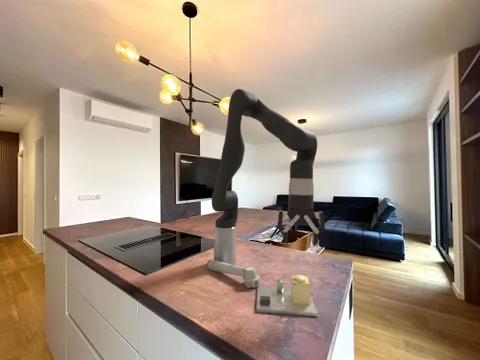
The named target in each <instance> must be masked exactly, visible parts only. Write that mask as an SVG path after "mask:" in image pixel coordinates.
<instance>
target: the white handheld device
mask: <svg viewBox="0 0 480 360" xmlns="http://www.w3.org/2000/svg"><path fill="white" fill-rule="evenodd" d="M206 269H208V270H211V271H212V272H219V273H223V274H229V275H235V276H239V277H242V281H243V283H244V286H245V287H246V288H248V289H250V288H254V289H255V288H258V286H260V283H259V282H260V276H259V275H258V274H257V270H256V269H255V267H252V266H251V267H249V266H248V267H243V266H238V265H237V264H236V265H232V264H228V263H224V262H220V261H218V260H214V259H210V260H208V261H207V264H206Z"/></svg>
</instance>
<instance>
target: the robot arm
mask: <svg viewBox="0 0 480 360" xmlns="http://www.w3.org/2000/svg"><path fill="white" fill-rule="evenodd" d="M228 104H229V105H228V111H227V113H228V114H227V123H226V131H225V137H224V143H223V147H222V152H221V157H220V165H219V169H218V173H217V178H216V182H215V185H214V189H213V191H212V194H211V195H212V196H211V207H212V209H213V211H215V212H216V213H222V212H223V213H222V215H220V216H219V217H218V218H217V219H216V220H215V225H214V227H215V228H214V230H215V231H214V234H215V236H214V237H215V241H214V242H215V243H214V244H213V260H218V261H220V262H224V263H228V264H232V265H236V266H237V263H236V261H237V259H236V258H237V255H236V254H237V246H236V245H237V221H238V216H239V214H238V213H239V197H238V194H237V192H235V191H234V190H228V189H229V188H228V187H229V184H230V183H231V181H232V179H233V178H234V176H235V175H236V174H237V172H238V171H239V170H240V169H241V166H242V164H243V161H244V155H245V149H246V145H245V142H244V138H243V137H244V136H243V135H242V130H241V129H242V125H241V124H242V118H243V117H248V118H252V119H253V120H256V121H258V122H259V123H260V124H261V125H262V126H263V128H264V129H265V130H266V131H267V132H268V133H270V134H271V135H273V136H274V137H275V138H277V139H279V141H280V142H281V143H282V144H283V145H284V147H286V148H287V149H289V150H291V151H292V152H296V157H295V159H294V160H292V161H291V162H290V166H289V182H288V210H287V211H284V210H281V209H280V210H278V215H277V225H276V226H277V230H279V231H281V232H282V240H283V242H284V243H285V245H288V244H289V232H288V231H289V230H290V229H291V228H292V227H293V226H294V225H295V226H302V227H303V226H304V227H305V226H309V227H310V228H311V230H312V234H311V243H312V246H317V245H318V243H319V234H320V233H324V232H326V227H325V226H326V224H325V223H326V221H325V220H326V219H325V213H324V212H323V211H317V212H315V211H314V191H315V189H314V162H315V159H316V155H317V150H318V139H317V136H316V134H315V133H313V132H312V131H311V130H308V129H307V130H306V129H303V128H301V127H300V126H297V125H296V124H294V122H293V121H291V120H290V119H288V118H287V117H285V116H284V115H282V114H280V113H278V112H276V111H274V110H273V109H271V108H269V107H268V106H267V105H266V104H264V102H262V100H260V98H258V97H257V96H256V95H255V94H253V92H252V93H251V92H249V91H246V90H245V89H244V90H243V89H242V88H237V89H235V90H234V91H233V92H232V93H231V97H230V99H229V103H228ZM286 216H287V217H288V218H289V220H288V221H287V222H286V223H285V225H283V219H285V217H286ZM314 218H316V219H317V220H318V227H316V226H315V223H313V221H312V220H314Z"/></svg>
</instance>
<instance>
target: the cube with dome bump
mask: <svg viewBox="0 0 480 360" xmlns="http://www.w3.org/2000/svg"><path fill="white" fill-rule="evenodd" d="M311 285H312V284H311V282H310V280H309V278H308V276H307V275H303V274H296V275H290V288H291V296H292V300H293V303H300V304H310V295H311V294H312V293H311V291H312V290H311V288H312V287H311Z"/></svg>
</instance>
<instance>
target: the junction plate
mask: <svg viewBox="0 0 480 360" xmlns="http://www.w3.org/2000/svg"><path fill="white" fill-rule="evenodd" d="M276 282H277V283H276V286H272V285H270V286H269V285H259V286H258V287H257V293H256V296H257V297H256V313H266V314H276V315H277V314H278V315H279V314H280V315H292V316H306V317H316V318H317V317H319V314H318V310H317V308H316V305H315V303H314V300H313V297H312V295H311V294H310V304H300V303H293V300H292V296H291V287H288V286H284V280H283V279H277V281H276Z"/></svg>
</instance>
